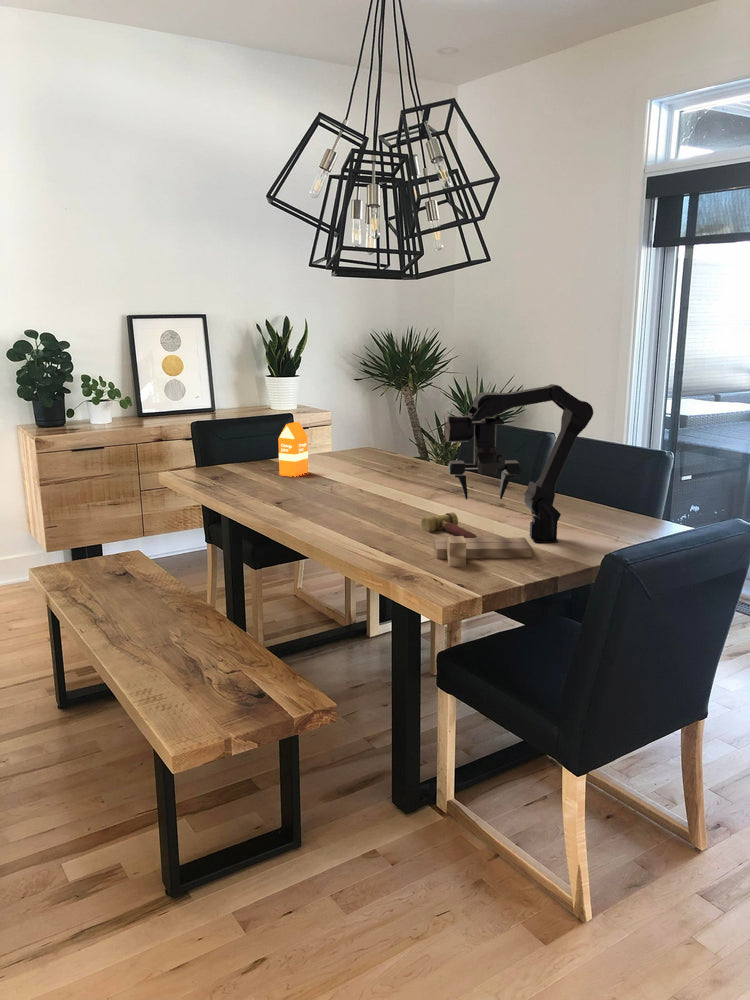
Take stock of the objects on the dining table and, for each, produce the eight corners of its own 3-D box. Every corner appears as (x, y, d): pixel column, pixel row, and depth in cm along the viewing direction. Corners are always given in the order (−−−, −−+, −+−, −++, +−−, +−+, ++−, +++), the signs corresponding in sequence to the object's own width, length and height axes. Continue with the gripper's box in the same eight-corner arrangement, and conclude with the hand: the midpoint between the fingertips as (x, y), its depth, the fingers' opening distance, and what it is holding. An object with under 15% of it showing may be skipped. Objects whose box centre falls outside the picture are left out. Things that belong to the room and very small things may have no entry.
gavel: (494, 531, 219) (465, 536, 214) (493, 547, 221) (464, 552, 216) (449, 510, 237) (421, 514, 232) (448, 525, 238) (420, 530, 233)
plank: (524, 546, 215) (524, 537, 214) (531, 557, 205) (532, 548, 204) (434, 547, 215) (434, 538, 214) (437, 558, 205) (437, 548, 204)
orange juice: (279, 475, 312) (277, 423, 308) (292, 471, 320) (290, 420, 315) (296, 476, 309) (294, 424, 304) (308, 472, 316) (307, 421, 312)
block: (460, 552, 210) (460, 529, 209) (465, 566, 199) (466, 542, 197) (445, 552, 210) (445, 530, 209) (449, 566, 199) (449, 542, 197)
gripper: (452, 446, 205) (451, 506, 209) (526, 445, 205) (524, 505, 209) (448, 439, 216) (447, 496, 219) (518, 439, 216) (516, 496, 219)
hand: (483, 499), depth 216 cm, fingers open, 9 cm apart
